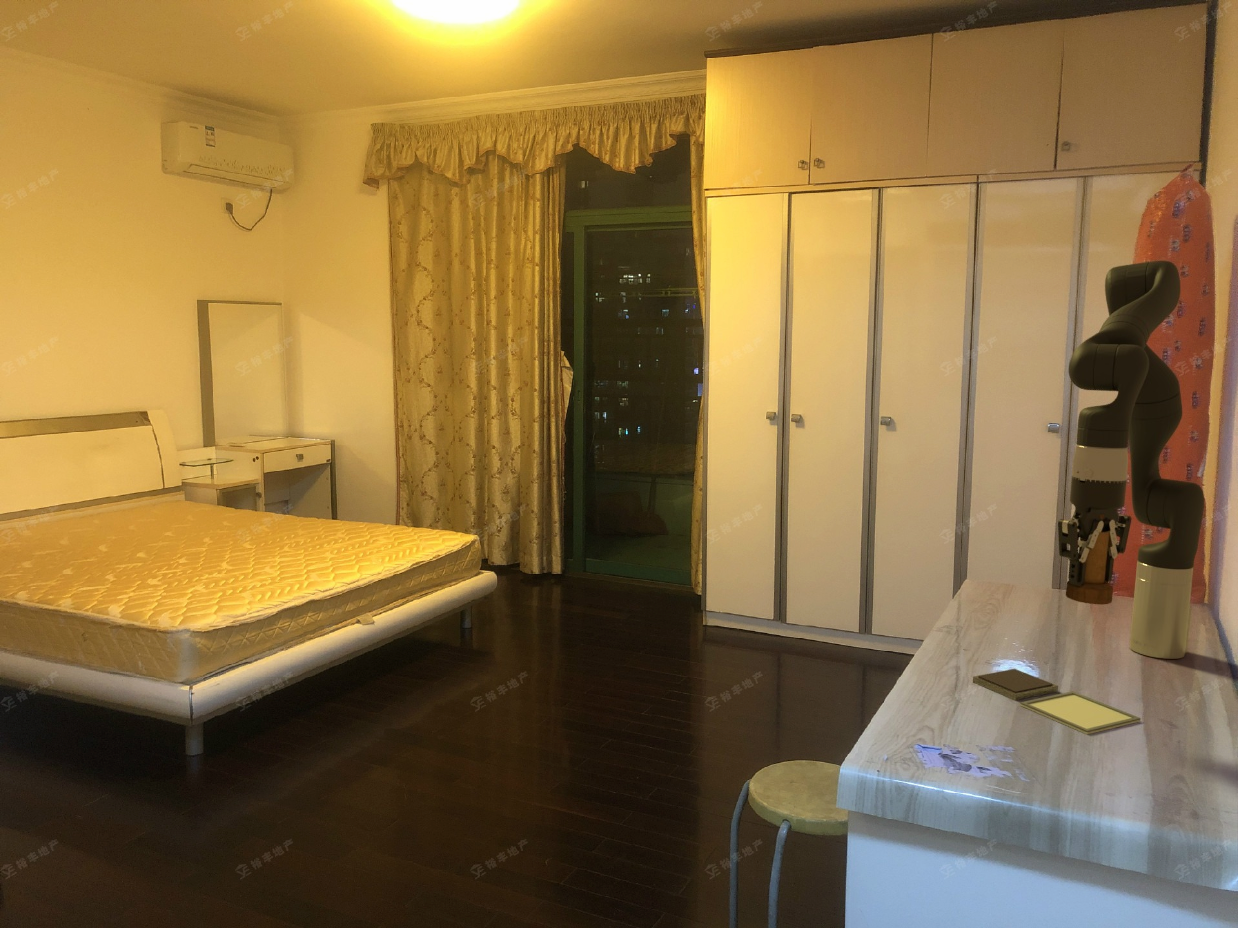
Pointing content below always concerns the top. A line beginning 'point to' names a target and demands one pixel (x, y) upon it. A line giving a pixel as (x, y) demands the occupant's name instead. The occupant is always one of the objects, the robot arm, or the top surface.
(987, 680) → the ink pad
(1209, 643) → the top surface
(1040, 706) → the print card
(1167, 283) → the robot arm
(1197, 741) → the top surface
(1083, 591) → the brown wooden stamp
